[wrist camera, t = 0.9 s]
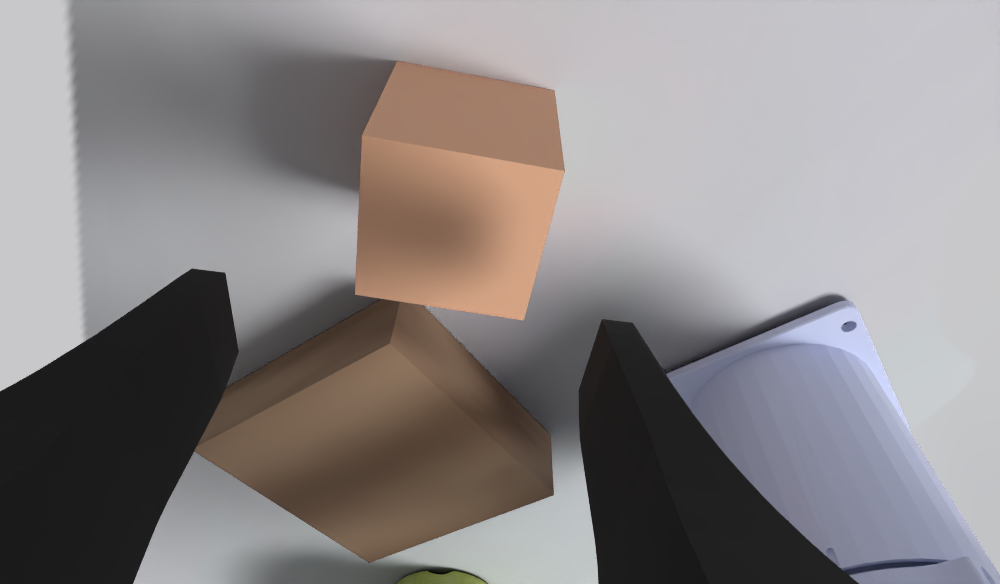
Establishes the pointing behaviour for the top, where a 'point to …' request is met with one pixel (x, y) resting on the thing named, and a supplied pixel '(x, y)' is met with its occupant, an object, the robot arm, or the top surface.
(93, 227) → the top surface
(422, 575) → the plant pot
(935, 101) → the top surface
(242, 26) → the top surface
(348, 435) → the walnut plinth
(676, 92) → the top surface
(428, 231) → the terracotta block
